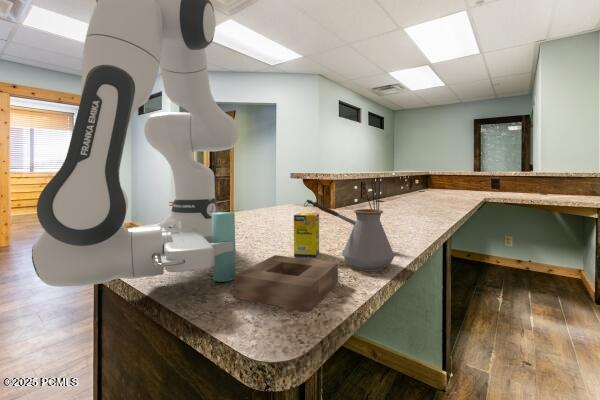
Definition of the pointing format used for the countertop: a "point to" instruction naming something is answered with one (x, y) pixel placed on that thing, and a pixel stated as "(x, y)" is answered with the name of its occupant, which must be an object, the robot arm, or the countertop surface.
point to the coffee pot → (365, 240)
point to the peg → (220, 232)
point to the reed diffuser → (373, 194)
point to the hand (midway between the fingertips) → (228, 242)
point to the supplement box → (306, 234)
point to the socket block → (287, 282)
